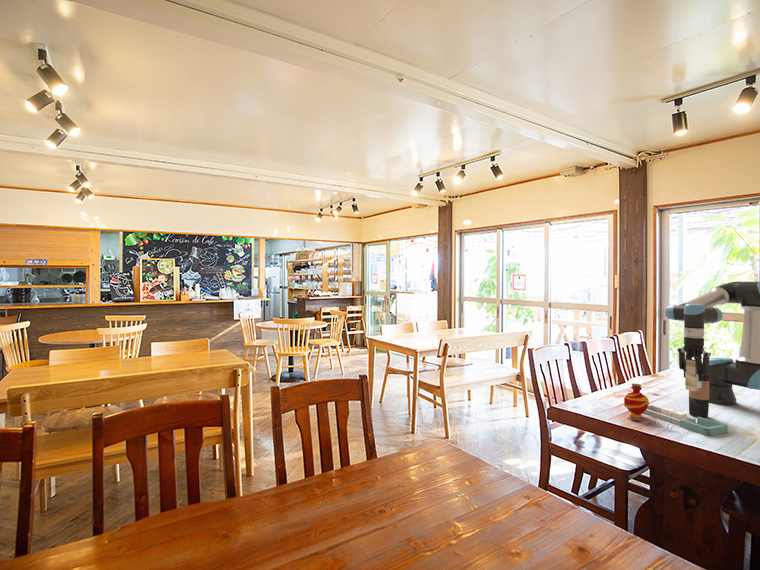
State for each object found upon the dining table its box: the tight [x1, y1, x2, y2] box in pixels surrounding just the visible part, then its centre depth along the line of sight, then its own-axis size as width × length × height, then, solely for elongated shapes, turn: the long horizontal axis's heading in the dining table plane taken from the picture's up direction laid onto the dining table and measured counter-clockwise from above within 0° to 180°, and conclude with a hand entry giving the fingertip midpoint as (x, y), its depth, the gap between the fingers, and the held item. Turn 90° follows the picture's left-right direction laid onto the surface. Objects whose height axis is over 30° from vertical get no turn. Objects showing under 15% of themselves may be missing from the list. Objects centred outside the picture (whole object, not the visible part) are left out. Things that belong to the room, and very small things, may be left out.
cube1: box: [661, 407, 677, 417], centre depth 189 cm, size 4×4×4 cm
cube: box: [672, 410, 688, 421], centre depth 184 cm, size 4×4×4 cm
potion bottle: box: [623, 383, 650, 419], centre depth 191 cm, size 10×10×15 cm
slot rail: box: [643, 403, 697, 426], centre depth 190 cm, size 10×22×2 cm, turn 18°
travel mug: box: [688, 374, 710, 419], centre depth 192 cm, size 8×8×20 cm
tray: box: [679, 417, 729, 437], centre depth 174 cm, size 12×12×3 cm
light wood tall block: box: [685, 358, 701, 391], centre depth 188 cm, size 4×4×14 cm
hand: (693, 386), depth 188 cm, fingers closed on light wood tall block, 4 cm apart
